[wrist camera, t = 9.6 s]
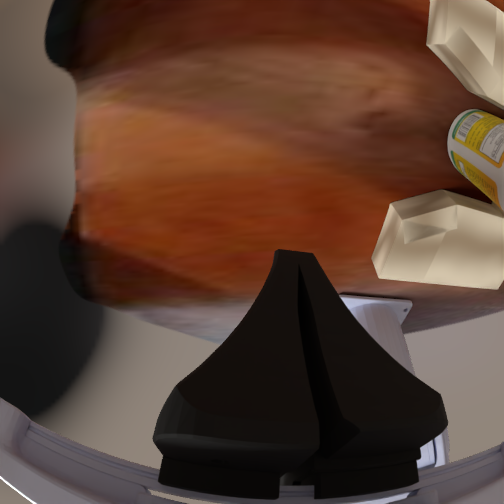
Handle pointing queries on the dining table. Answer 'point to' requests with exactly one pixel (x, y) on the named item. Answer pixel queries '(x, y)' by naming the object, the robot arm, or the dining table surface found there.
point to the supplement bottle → (479, 151)
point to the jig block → (441, 201)
